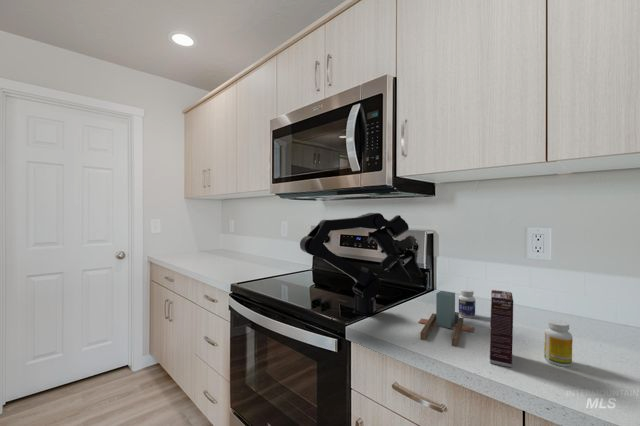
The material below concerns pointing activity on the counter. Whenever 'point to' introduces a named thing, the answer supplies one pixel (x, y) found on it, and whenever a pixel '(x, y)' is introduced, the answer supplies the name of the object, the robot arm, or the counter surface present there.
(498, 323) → the supplement box
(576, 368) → the counter surface
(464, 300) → the pill bottle
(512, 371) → the counter surface
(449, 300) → the block
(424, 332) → the guide channel
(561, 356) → the supplement bottle
